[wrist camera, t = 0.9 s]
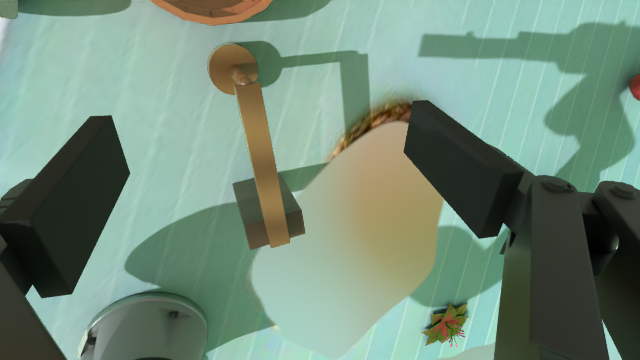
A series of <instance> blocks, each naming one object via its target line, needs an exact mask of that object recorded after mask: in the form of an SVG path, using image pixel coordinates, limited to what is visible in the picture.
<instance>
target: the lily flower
mask: <svg viewBox="0 0 640 360" xmlns="http://www.w3.org/2000/svg"><path fill="white" fill-rule="evenodd" d="M466 305H467V303H466V304H464V305H463V306H461V307H459V308H457V309H455V308H454V307H453V306H451V303H450V305H449V307H448V309H447V311H446V313H445V314H444V313H442V314H434V315H432V314H431V324H432V326H434V327H433V328H431V329H429V330H427V331H425V332H422V333H424V334H426V335H428V336H429V339H428V341H427V343H426V345H428V344H430V343H434V342H436V341H437V340H438V339H439V341H440V342H442V343H443V342H445V341H446V340H448V339H449V338H450V337H451V338H452V336H455V335H456V334H458V335H460V334H465V333H460V331H462V330H461V327H463V324H464V323H465V321H466V318H468V316H467V317H465V316H462V315H463V314H464V312H465V310H466ZM463 332H464V331H463ZM458 335H457V337H458ZM460 336H462V335H460ZM463 337H465V336H463ZM458 338H459V337H458ZM454 339H455V338H454ZM459 339H460V338H459ZM452 340H453V339H452ZM450 342H451V340H450V341H449V343H450ZM455 342H456V341H455ZM426 345H425V346H426ZM451 346H452V343H451ZM451 346H450V347H451ZM456 347H457V344H456Z"/></svg>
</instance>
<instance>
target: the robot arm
mask: <svg viewBox="0 0 640 360" xmlns="http://www.w3.org/2000/svg"><path fill="white" fill-rule="evenodd" d="M404 153H405V154H406V155H407V157H408V158H409V159H410V160H411V161H412V162H413V164H414V165H415V166H416V167H417V168H418V169H419V170H420V172H421V173H422V174H423V175H424V176H425V177H426V178H427V180H428V181H429V182H430V183H431V184H432V185H433V187H434V188H435V189H436V190H437V191H438V192H439V193H440V194H441V196H442V197H443V198H444V199H445V200H446V201H447V203H448V204H449V205H450V206H451V207H452V208H453V210H454V211H455V212H456V213H457V214H458V215H459V216H460V218H461V219H462V220H463V221H464V222H465V223H466V224H467V226H468V227H469V228H470V229H471V230H472V231H473V233H474V234H475V235H476V236H477V237H478V238H479V239H480V238H488V237H495V236H498V234H499V231H500V229H501V227H502V224H503V223H504V224H505V225H506V226H507V227H508V228H509V229H510V232H509V234H508V236H507V238H506V241H505V243H504V245H503V247H502V250H501V252H500V254H504V252H505V258H504V268H503V277H502V287H501V296H500V305H499V315H498V324H497V334H496V343H495V353H494V360H609V355H608V350H607V344H606V339H605V333H604V329H603V323H602V320H603V322H604V324H605V326H606V328H607V330H608V332H609V334H610V336H611V338H612V340H613V342H614V344H615V346H616V348H617V350H618V352H619V354H620V356H621V358H622V360H640V190H638V189H636V188H634V187H633V186H631V185H629V184H627V185H626V183H623V182H615V181H603V182H600V183H599V185H598V186H597V188H596V190H595V191H594V193H587V192H578V191H577V190H576V188H575V187H574V186H573V185H572V184H570V183H569V182H567V181H565V180H563V179H560V178H556V177H553V176H547V175H538V176H535V175H534V174H532V173H531V172H529V171H528V170H527V169H525V168H524V167H523V166H521V165H520V164H518V163H517V162H516V161H514V160H513V159H512V158H510V157H509V156H506V154H505V153H503V152H502V151H501V150H499V149H498V148H496V147H493V146H491V145H489V144H486V143H485V142H484V141H482V140H481V139H480V138H478V137H477V136H476V135H474V134H473V133H472V132H470V131H469V130H467V129H466V128H465V127H463V126H462V125H461V124H459V123H458V122H457V121H455V120H454V119H453V118H451V117H450V116H448V115H447V114H446V113H444V112H443V111H442V110H440V109H439V108H438V107H436V106H435V105H434V104H432V103H431V102H430V101H428V100H422V101H413V104H412V109H411V115H410V120H409V125H408V131H407V136H406V142H405V147H404ZM129 175H130V171H129V168H128V165H127V162H126V159H125V156H124V153H123V150H122V147H121V144H120V141H119V137H118V134H117V131H116V128H115V125H114V122H113V119H112V116H111V115H109V116H90V117H89V118H88V119H87V121H86V122H85V123H84V124H83V125H82V126H81V127H80V128H79V129H78V130H77V132H76V133H75V134H74V135H73V136H72V137H71V138H70V139H69V140H68V141H67V143H66V144H65V145H64V146H63V147H62V148H61V149H60V150H59V151H58V152H57V154H56V155H55V156H54V157H53V158H52V159H51V160H50V161H49V162H48V163H47V165H46V166H45V167H44V168H43V169H42V170H41V171H40V172H39V173H38V174H37V176H36V177H35V178H34V179H26V180H24V181H23V182H21V183H19V184H18V185H16V186H14V187H13V188H11V189H10V190H9V191H8V192H7V193H6V194H5V195H4V196H3V197H2V198H1V201H0V360H67V358H66V357H65V355H64V354H63V352H62V351H61V349H60V348H59V346H58V345H57V343H56V342H55V340H54V339H53V338H52V336H51V335H50V333H49V332H48V330H47V329H46V327H45V326H44V324H43V323H42V321H41V320H40V318H39V317H38V315H37V314H36V312H35V311H34V309H33V308H32V306H31V305H30V303H29V302H28V300H27V299H26V297H25V296H26V294H27V292H28V291H29V289H30V288H31V286H32V284H33V286H34V287H35V289H36V290H37V292H38V293H39V295H40V297H41V298H47V297H54V296H62V295H69V294H72V293H73V291H74V289H75V287H76V285H77V282H78V280H79V278H80V276H81V274H82V272H83V270H84V268H85V266H86V264H87V262H88V260H89V258H90V256H91V254H92V251H93V249H94V247H95V245H96V243H97V241H98V239H99V237H100V235H101V233H102V231H103V229H104V227H105V225H106V222H107V220H108V218H109V216H110V214H111V212H112V210H113V208H114V206H115V204H116V202H117V200H118V198H119V196H120V194H121V191H122V189H123V187H124V185H125V183H126V181H127V179H128V177H129ZM617 246H618V248H617V250H616V247H617ZM207 337H208V336H207V322H206V318H205V316H204V314H203V312H202V311H201V309H200V308H199V307H198V306H197V305H196V304H194V303H193V302H191V301H190V300H188V299H186V298H183V297H181V296H178V295H174V294H168V293H144V294H138V295H134V296H130V297H127V298H124V299H122V300H119V301H117V302H115V303H113V304H111V305H110V306H108V307H106V308H105V309H104V310H102V311H101V312H100V313H99V314H98V315H96V317H95V318H94V319H93V320H92V321H91V323H90V324H89V326H88V328H86V330H85V332H84V335H83V338H82V340H81V343H80V345H79V348H78V350H77V352H78V360H79V358H80V357H81V360H202V357H203V354H204V351H205V348H206V343H207Z"/></svg>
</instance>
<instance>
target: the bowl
mask: <svg viewBox="0 0 640 360" xmlns="http://www.w3.org/2000/svg"><path fill="white" fill-rule="evenodd" d="M150 1H151V2H152V3H154V4H155V5H157V6H159V7H161V8H163V9H165V10H167V11H168V12H170V13H172V14H174V15H176V16H178V17H180V18H182V19H184V20H187V21H192V22H197V23H202V24H207V25H214V26H215V25H222V24H230V23H238V22H242V21H244V20H246V19H248V18H250V17H252V16H253V15H255V14H257V13H259V12H261V11H263V10H264V9H266V8H267V7H268V5H269V4H270V3H271V2H272V1H273V0H150Z"/></svg>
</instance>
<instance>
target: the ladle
mask: <svg viewBox="0 0 640 360" xmlns="http://www.w3.org/2000/svg"><path fill="white" fill-rule="evenodd" d="M207 69H208V73H209V76H210V78H211V80H212V82H213V84H214V85H215V86H216V87H217V88H218V89H219V90H220V91H222V92H224V93H226V94H230V95H236V99H237V104H238V108H239V112H240V117H241V121H242V126H243V130H244V135H245V139H246V143H247V148H248V152H249V157H250V161H251V166H252V170H253V175H254V179H255V183H256V188H257V192H258V197H259V201H260V206H261V210H262V215H263V219H264V223H265V228H266V232H267V237H268V241H269V244H270V246H271V248H274V247H277V246H280V245H284V244H287V243H290V238H289V233H288V228H287V223H286V217H285V212H284V207H283V201H282V196H281V191H280V185H279V180H278V175H277V170H276V164H275V159H274V154H273V148H272V143H271V138H270V133H269V127H268V122H267V117H266V111H265V106H264V101H263V96H262V90H261V85H260V83H259V82H258V81H257V78H258V65H257V62H256V59H255V58H254V56H253V55H252V54H251V52H250V51H248V50H247V49H246V48H244V47H242V46H240V45H237V44H234V43H225V44H222V45H219V46H217V47H216V48H215V49H214V50H213V51H212V52H211V54H210V56H209V58H208V63H207Z"/></svg>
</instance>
